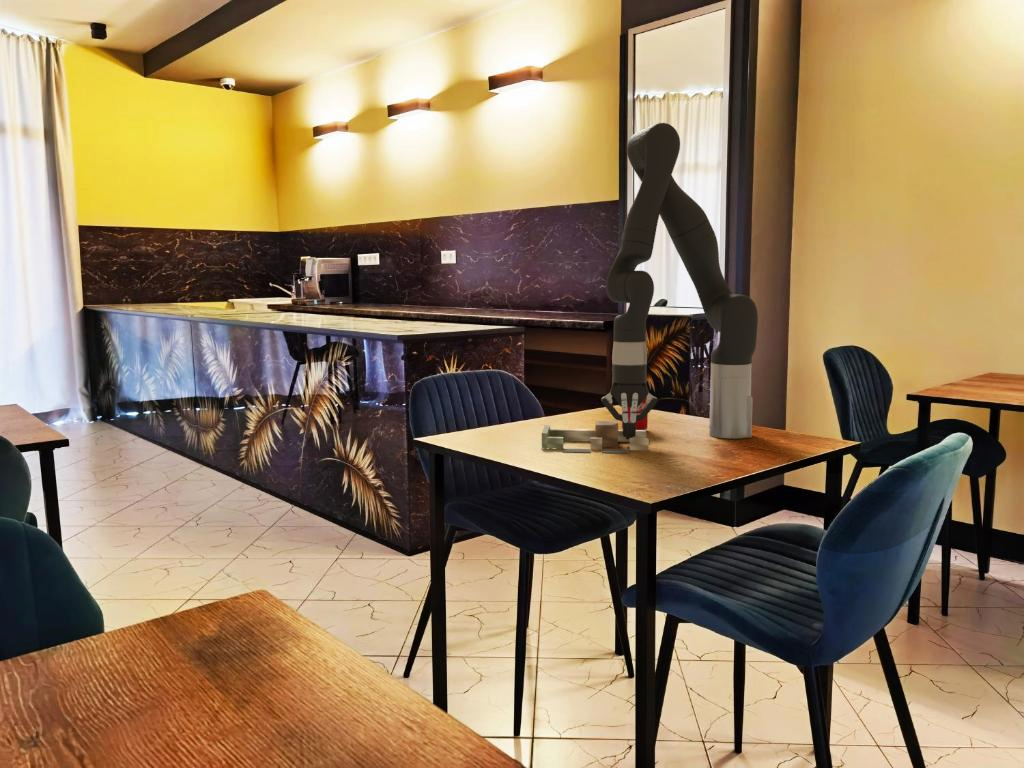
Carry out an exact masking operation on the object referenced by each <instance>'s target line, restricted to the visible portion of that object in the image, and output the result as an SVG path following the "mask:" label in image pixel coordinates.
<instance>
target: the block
mask: <svg viewBox="0 0 1024 768" xmlns="http://www.w3.org/2000/svg"><path fill="white" fill-rule="evenodd" d="M618 421H619V420H613V421H612V420H609V421H608V420H607V421H606V420H595V426H594V427H595V429H594V430H595V437H599V438H602V448H619V442H618V430H619V422H618Z"/></svg>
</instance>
